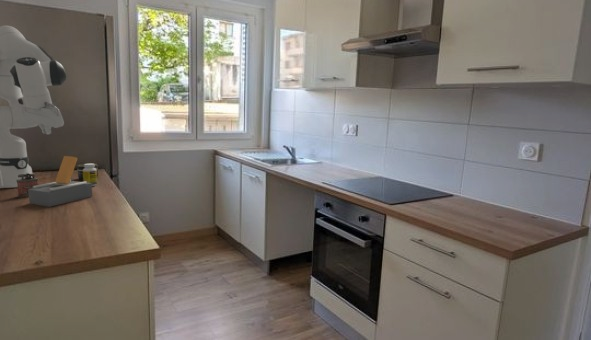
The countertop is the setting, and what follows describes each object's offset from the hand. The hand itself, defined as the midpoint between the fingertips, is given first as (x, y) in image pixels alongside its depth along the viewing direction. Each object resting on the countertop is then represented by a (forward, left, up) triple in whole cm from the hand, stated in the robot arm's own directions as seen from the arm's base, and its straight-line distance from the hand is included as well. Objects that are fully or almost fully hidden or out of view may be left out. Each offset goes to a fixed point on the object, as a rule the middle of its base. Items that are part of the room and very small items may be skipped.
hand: (47, 133), depth 157 cm
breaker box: (0, +4, -29) cm, 29 cm away
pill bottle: (-14, +30, -29) cm, 44 cm away
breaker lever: (0, +4, -22) cm, 23 cm away
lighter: (-20, +3, -29) cm, 35 cm away
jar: (-30, +42, -29) cm, 59 cm away
